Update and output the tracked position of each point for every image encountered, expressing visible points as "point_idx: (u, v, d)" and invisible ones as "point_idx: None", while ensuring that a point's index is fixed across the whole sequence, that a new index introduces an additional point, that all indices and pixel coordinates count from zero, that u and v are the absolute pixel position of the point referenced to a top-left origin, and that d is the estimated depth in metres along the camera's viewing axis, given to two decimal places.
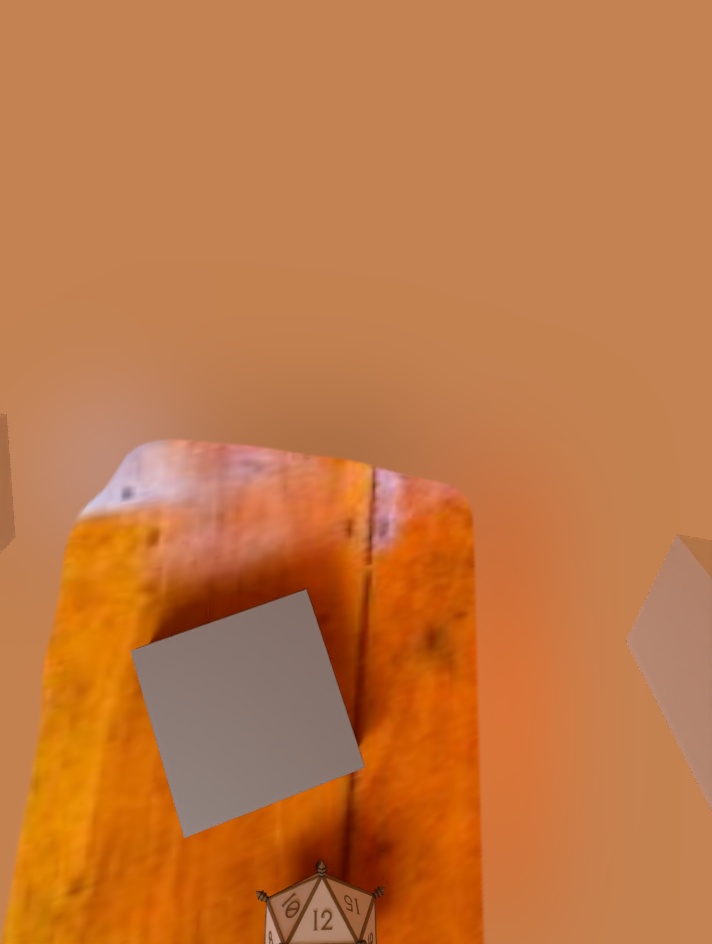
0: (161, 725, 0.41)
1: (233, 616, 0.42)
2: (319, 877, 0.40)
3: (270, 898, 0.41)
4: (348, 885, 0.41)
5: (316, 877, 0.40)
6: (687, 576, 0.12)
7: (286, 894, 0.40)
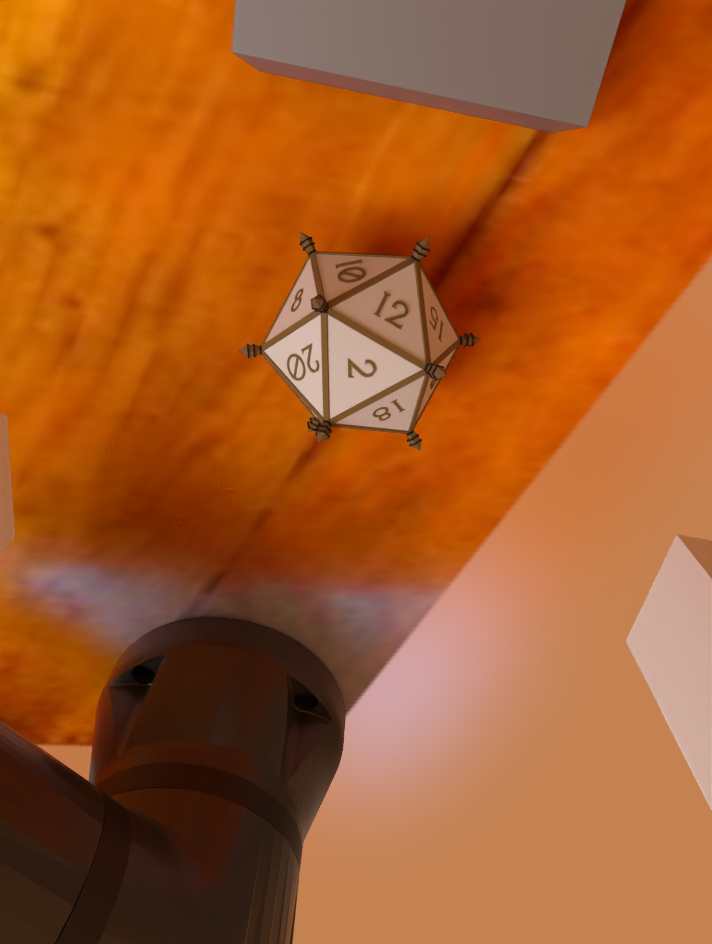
0: None
1: None
2: (411, 258, 0.23)
3: (318, 252, 0.25)
4: (439, 301, 0.25)
5: (406, 257, 0.24)
6: (687, 576, 0.12)
7: (346, 257, 0.24)
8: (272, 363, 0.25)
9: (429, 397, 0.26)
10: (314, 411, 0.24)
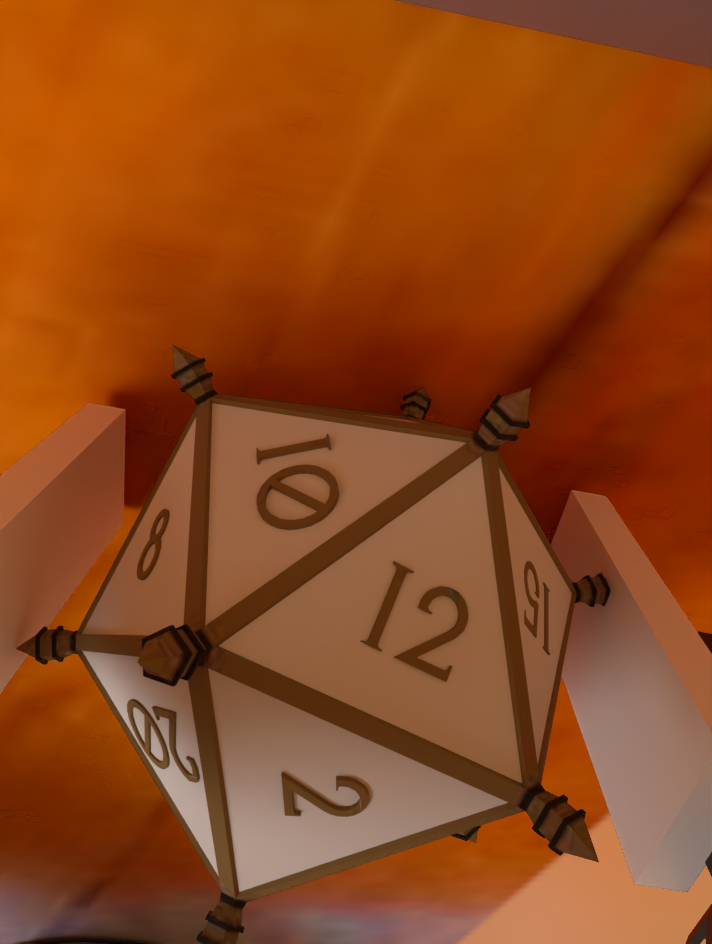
0: None
1: None
2: (473, 444, 0.08)
3: (220, 401, 0.09)
4: (538, 527, 0.09)
5: (456, 436, 0.08)
6: (576, 526, 0.13)
7: (291, 424, 0.09)
8: (100, 689, 0.10)
9: None
10: (199, 854, 0.09)
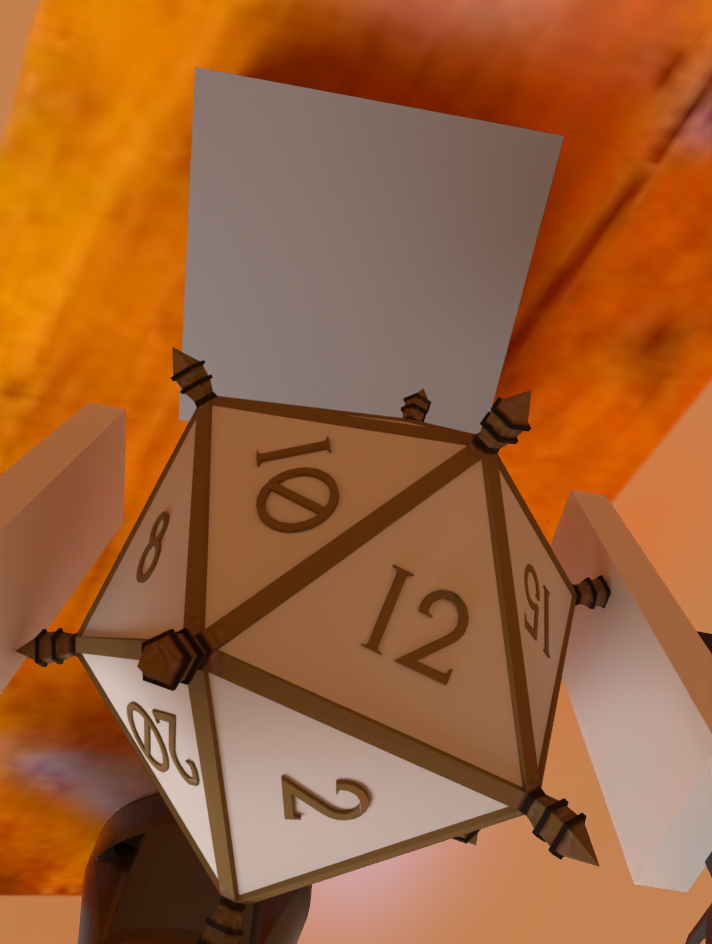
0: (203, 239, 0.22)
1: (409, 110, 0.20)
2: (473, 446, 0.08)
3: (219, 403, 0.09)
4: (538, 530, 0.09)
5: (456, 438, 0.08)
6: (576, 526, 0.13)
7: (291, 426, 0.09)
8: (99, 692, 0.10)
9: None
10: (199, 857, 0.09)
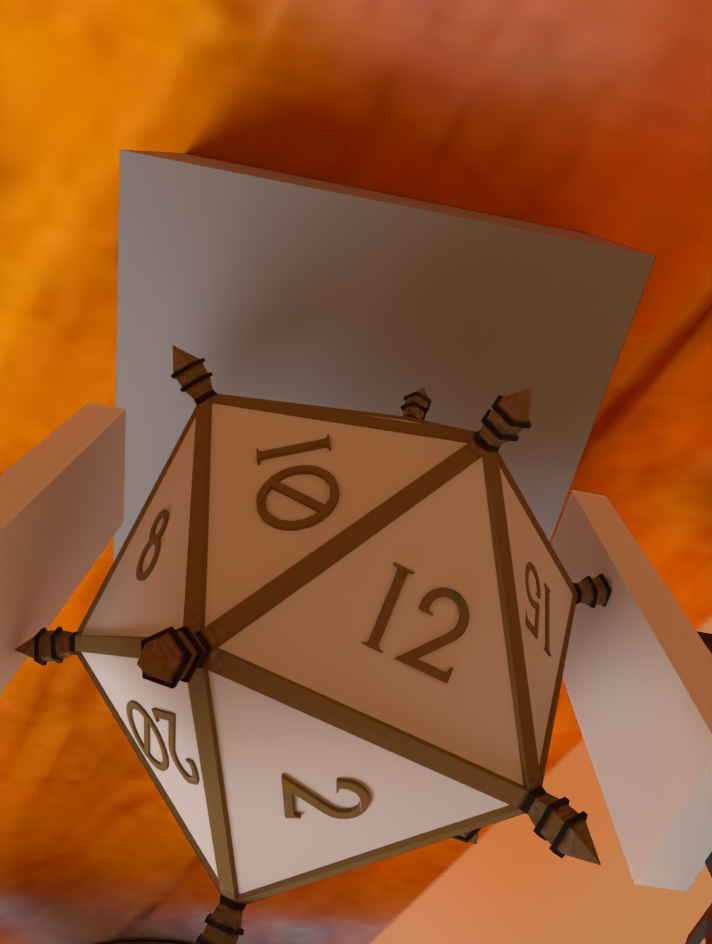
0: (139, 378, 0.16)
1: (432, 216, 0.14)
2: (474, 444, 0.08)
3: (219, 401, 0.09)
4: None
5: (457, 436, 0.08)
6: (576, 526, 0.13)
7: (291, 424, 0.09)
8: (99, 690, 0.10)
9: None
10: (199, 856, 0.09)
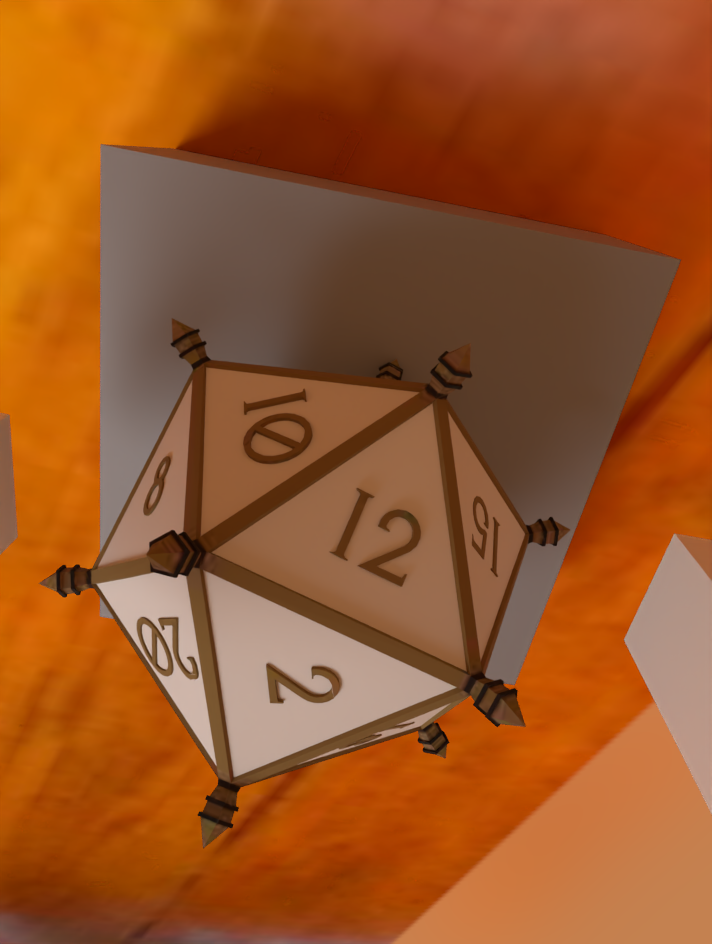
0: (124, 390, 0.15)
1: (438, 216, 0.13)
2: (426, 393, 0.10)
3: (213, 365, 0.11)
4: (489, 471, 0.11)
5: (412, 387, 0.10)
6: (685, 575, 0.12)
7: (273, 382, 0.10)
8: None
9: None
10: (200, 749, 0.10)
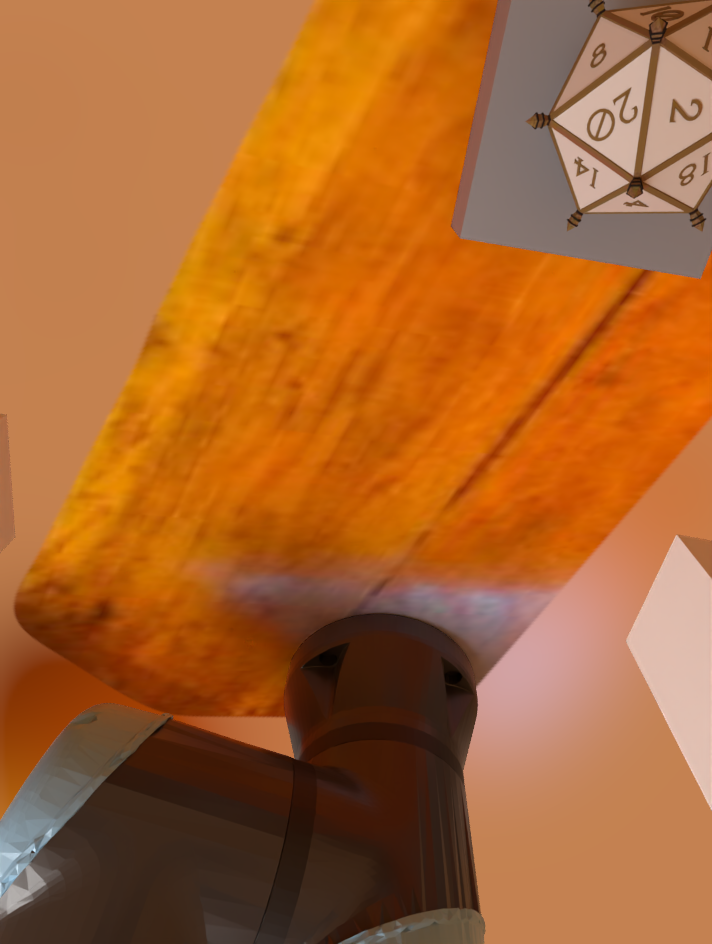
0: (508, 74, 0.28)
1: None
2: None
3: (611, 10, 0.24)
4: None
5: None
6: (687, 576, 0.12)
7: (648, 8, 0.23)
8: (564, 131, 0.24)
9: None
10: (620, 171, 0.23)
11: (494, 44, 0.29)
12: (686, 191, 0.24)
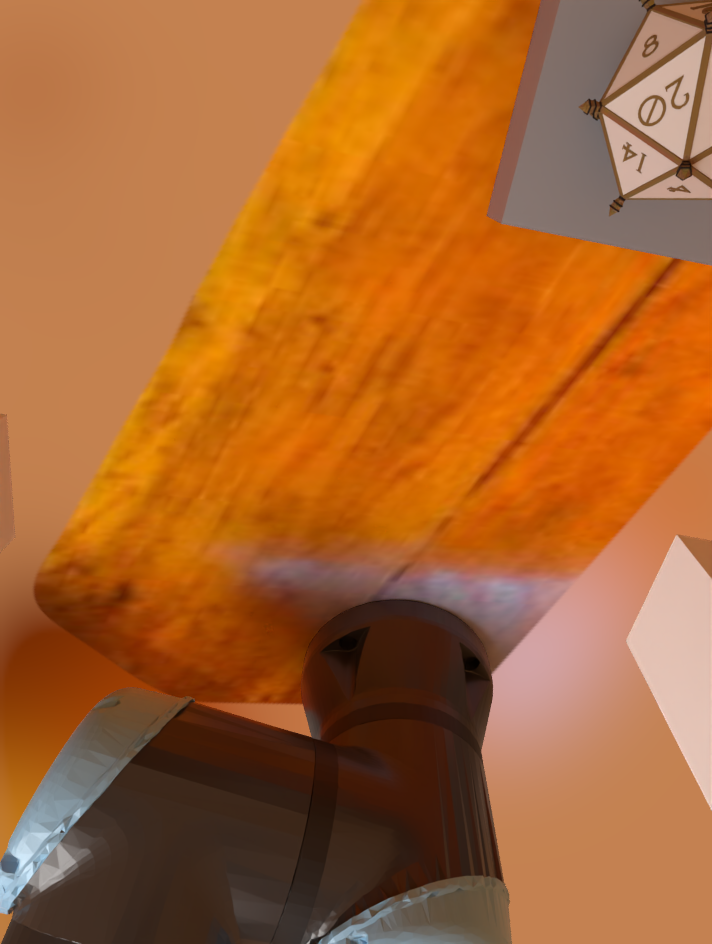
0: (555, 66, 0.29)
1: None
2: None
3: (661, 5, 0.25)
4: None
5: None
6: (687, 576, 0.12)
7: (697, 4, 0.24)
8: (615, 116, 0.25)
9: None
10: (669, 155, 0.24)
11: (539, 39, 0.31)
12: None
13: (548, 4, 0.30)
